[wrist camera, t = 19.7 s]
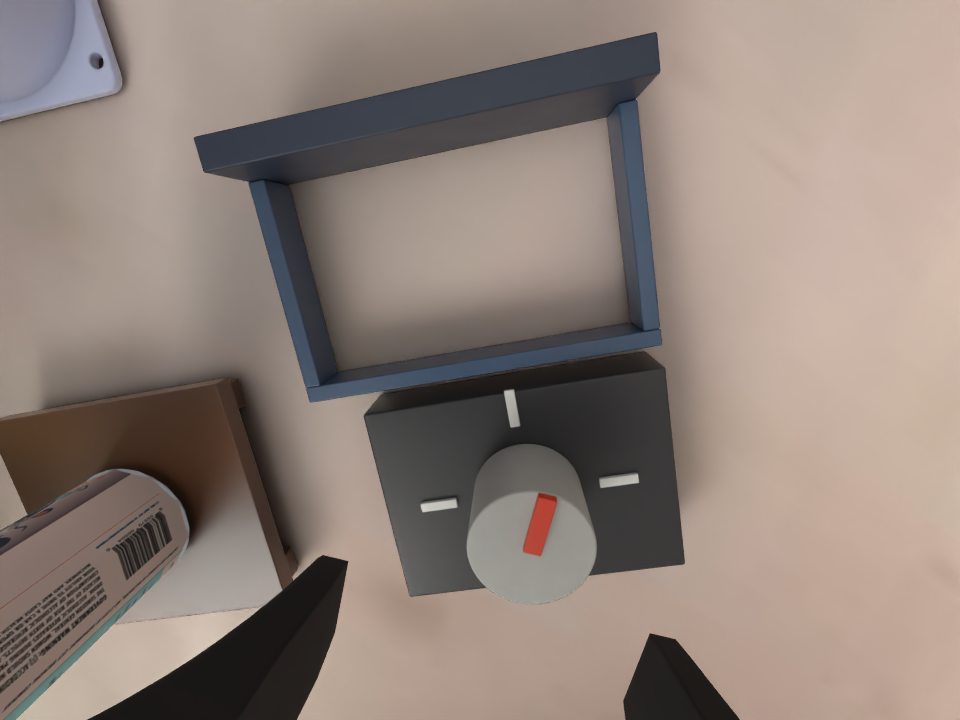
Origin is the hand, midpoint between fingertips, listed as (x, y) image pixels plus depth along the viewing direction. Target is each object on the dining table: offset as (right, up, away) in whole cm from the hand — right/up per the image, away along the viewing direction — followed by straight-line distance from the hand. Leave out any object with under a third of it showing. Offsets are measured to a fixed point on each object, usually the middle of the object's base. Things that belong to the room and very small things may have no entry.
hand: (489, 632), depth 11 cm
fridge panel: (+2, +2, +10) cm, 10 cm away
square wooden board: (-14, 0, +11) cm, 18 cm away
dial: (+2, +1, +7) cm, 7 cm away
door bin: (-1, +10, +8) cm, 13 cm away
